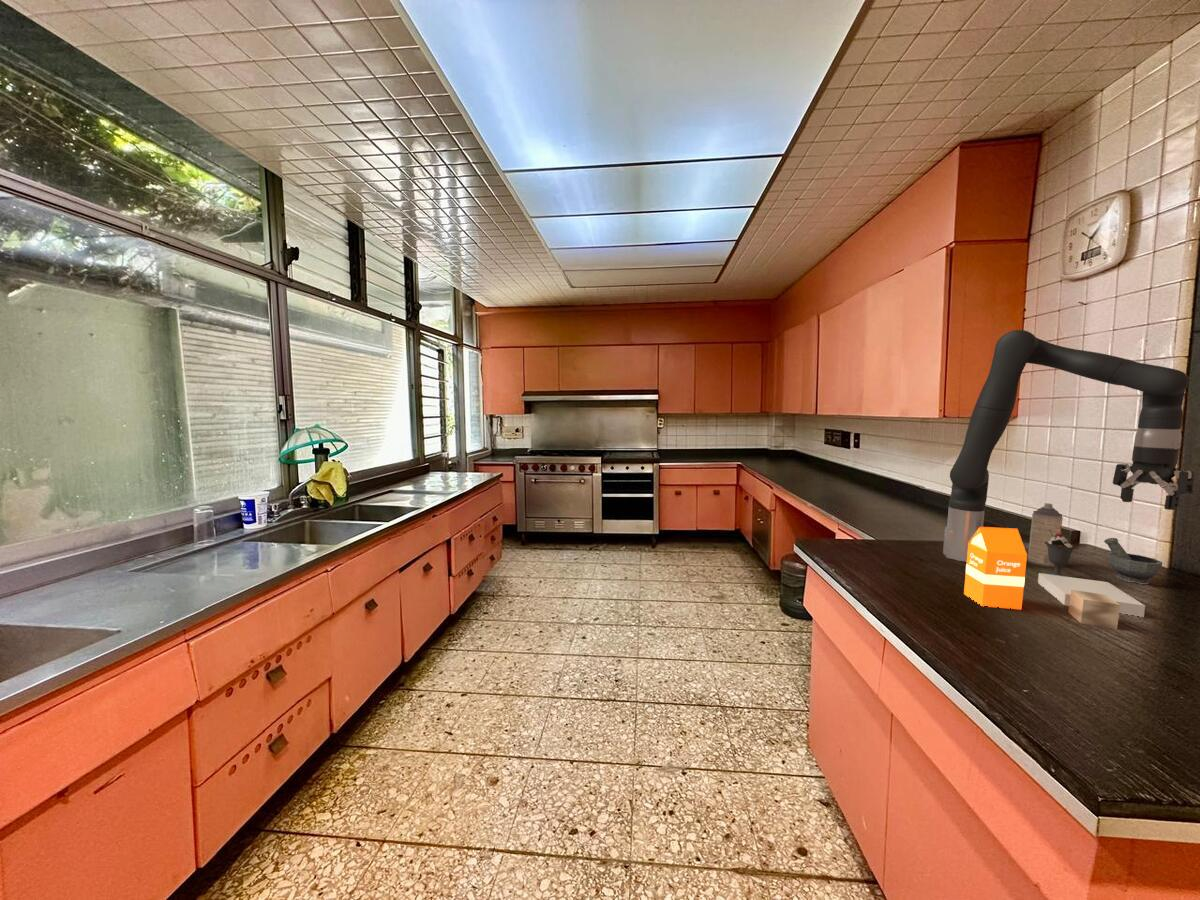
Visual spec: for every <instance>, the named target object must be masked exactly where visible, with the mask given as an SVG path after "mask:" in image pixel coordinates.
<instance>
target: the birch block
mask: <svg viewBox="0 0 1200 900" xmlns="http://www.w3.org/2000/svg"><path fill="white" fill-rule="evenodd" d="M1119 611H1120V604H1118V603H1117V602H1115V601H1114V600H1112V599H1111V598H1110V597H1108V596H1107V595H1104V594H1097V593H1090V592H1083V591H1076V590H1071V594H1070V603H1069V606H1068V614H1069V615H1070V616H1072V617H1073V618H1074V619H1076V620H1077V621H1078V622H1079V623H1080V624H1083V625H1089V626H1096V627H1102V628H1108V629H1113V628H1114V630H1118V625H1119V617H1120V614H1119Z"/></svg>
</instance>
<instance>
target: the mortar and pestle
mask: <svg viewBox="0 0 1200 900" xmlns="http://www.w3.org/2000/svg"><path fill="white" fill-rule="evenodd" d="M1103 542H1104V544H1106V545H1107V546H1108V548H1109V550H1110V552H1111V553H1109V557H1108V559H1109V560H1108V561H1109V565H1110V566H1111V567H1112V569H1113V570H1114V571H1115V572H1116V573H1117V574H1116V576H1118V577H1120V578H1122V579H1126V580H1129V581H1135V582H1140V583H1148V582H1149V583H1150V579H1151V578H1154V577H1155V576H1156V575H1158V574H1159V573H1160V571H1161V569H1162V566H1163V562H1162V561H1161V560H1158V559H1156V558H1154V557H1153V558H1152V557H1148V556H1145V555H1140V554H1135V553H1127V551H1126V550H1125V549H1124V548H1123V546H1122V545H1121V544H1120V543H1119V539H1118V538H1116V537H1109V538H1106V539H1104V541H1103Z"/></svg>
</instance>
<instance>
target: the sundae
mask: <svg viewBox="0 0 1200 900" xmlns="http://www.w3.org/2000/svg"><path fill="white" fill-rule="evenodd" d="M1060 529H1061V531H1060V532H1061V534H1060V532H1059V533H1056V535H1055V536H1053V537H1052V538H1051V540H1049V541H1046V542H1044V543H1045V544H1046V545H1047V547H1048V557H1049V560H1050V562H1051V563H1053V564H1054V565H1055V567H1054V569H1053V572H1046V573H1045V574H1050V575H1058V576H1065V575H1063V574H1062V573H1061V568H1062V567H1063V566H1066V565H1068V563H1069V561H1070V558H1071V555H1072V552H1073V550H1076V549H1077V546H1076V545H1074V544H1072V543H1070V541H1069V539H1067V537H1066V536H1065V535H1064V533H1063V531H1062V528H1061V527H1060ZM1065 577H1067V576H1065Z"/></svg>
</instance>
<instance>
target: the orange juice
mask: <svg viewBox="0 0 1200 900" xmlns="http://www.w3.org/2000/svg"><path fill="white" fill-rule="evenodd" d="M1018 529H1019V528H1012V527H1011V528H1009V527H993V526H991V527H990V526H983V527H979V529H978V530H977V531H976V533H975V534H974V536H973V537H972V539H971V540H970V541H969V543H968V553H967V562H966V565H965V576H964V578H965V579H964V588H963V595H965V596H966V597H967V598H969V597H970V598H971V599H970V598H969V599H970V600H972V601H973V600H974V601H973V602H975V603H976V602H977V604H978V605H979V604H980V605H979V606H981V607H984V606H988V607H987V608H997V607H999V608H1000V609H1010V608H1011V610H1012V609H1013V610H1022V605H1023V598H1024V590H1025V588H1024V587H1025V581H1026V580H1025V579H1026V569H1027V561H1028V553H1027V551H1026V549H1025V545H1024V542H1023V541H1022V537H1021V534H1020V532H1019V530H1018Z"/></svg>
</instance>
